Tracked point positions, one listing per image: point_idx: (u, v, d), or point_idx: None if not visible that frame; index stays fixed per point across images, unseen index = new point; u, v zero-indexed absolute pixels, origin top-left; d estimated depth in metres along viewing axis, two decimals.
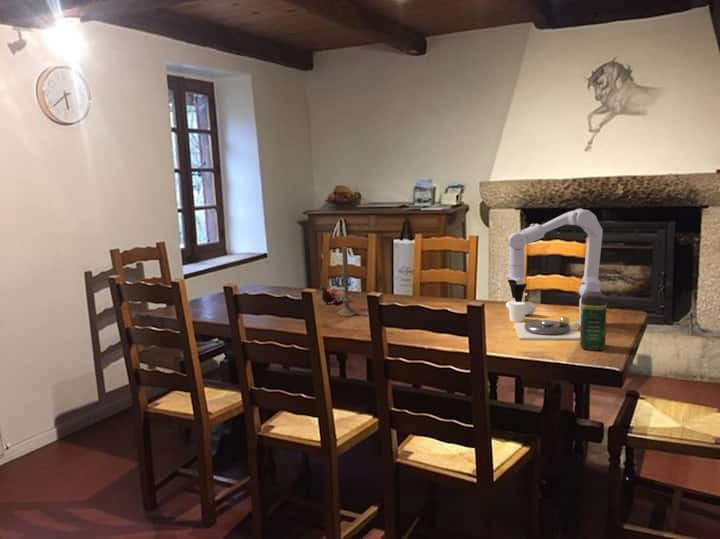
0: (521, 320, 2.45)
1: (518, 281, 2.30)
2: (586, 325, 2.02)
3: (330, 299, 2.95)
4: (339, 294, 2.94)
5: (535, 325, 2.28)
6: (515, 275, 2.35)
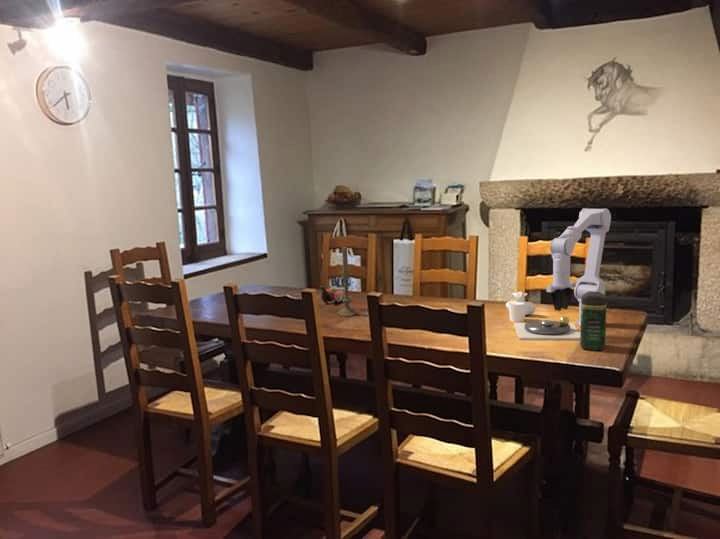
0: (521, 320, 2.45)
1: None
2: (586, 325, 2.02)
3: (330, 299, 2.96)
4: (338, 294, 2.95)
5: (535, 325, 2.28)
6: None
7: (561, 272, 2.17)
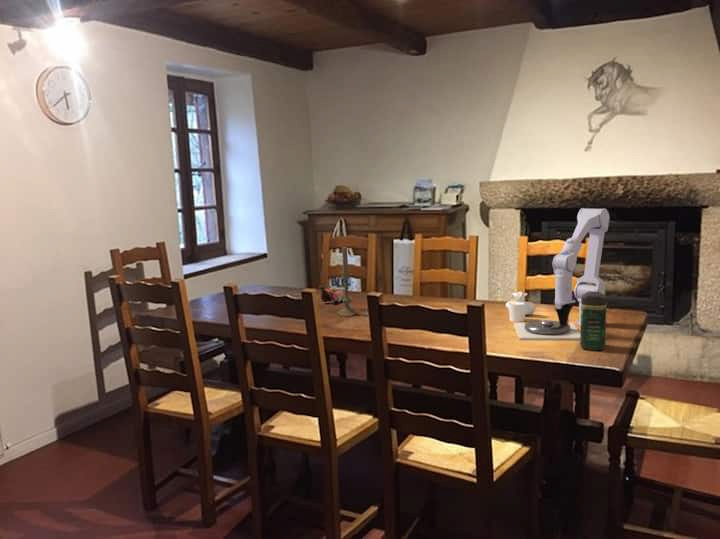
0: (521, 320, 2.45)
1: None
2: (586, 325, 2.02)
3: (329, 299, 2.96)
4: (338, 294, 2.95)
5: (535, 325, 2.28)
6: None
7: (563, 288, 2.19)
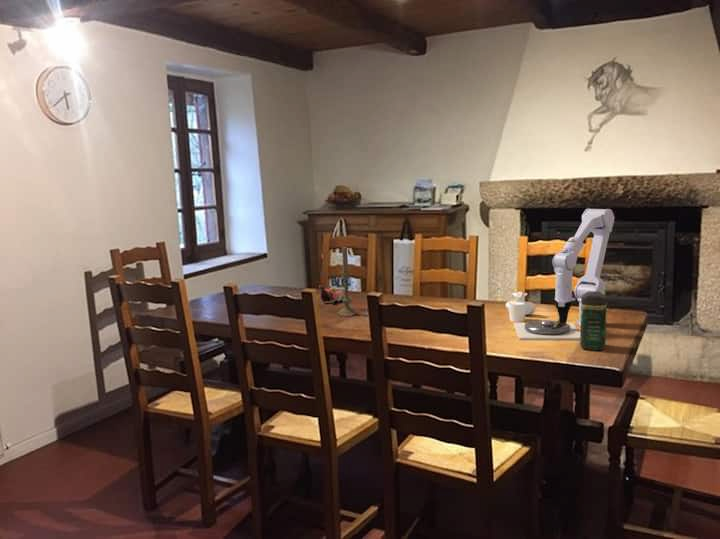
0: (521, 320, 2.45)
1: None
2: (586, 325, 2.02)
3: (329, 298, 2.96)
4: (338, 294, 2.95)
5: (536, 326, 2.27)
6: None
7: (562, 286, 2.22)
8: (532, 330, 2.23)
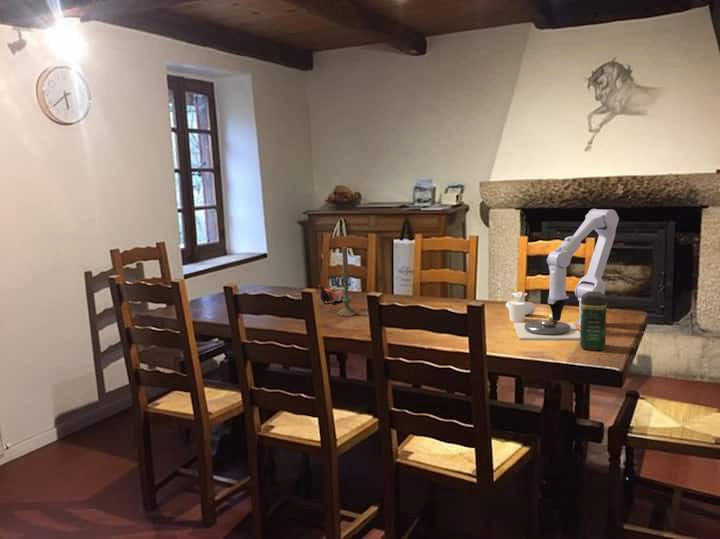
0: (521, 320, 2.45)
1: None
2: (586, 325, 2.02)
3: (329, 298, 2.97)
4: (337, 294, 2.96)
5: (542, 327, 2.24)
6: None
7: (555, 284, 2.26)
8: (547, 332, 2.20)
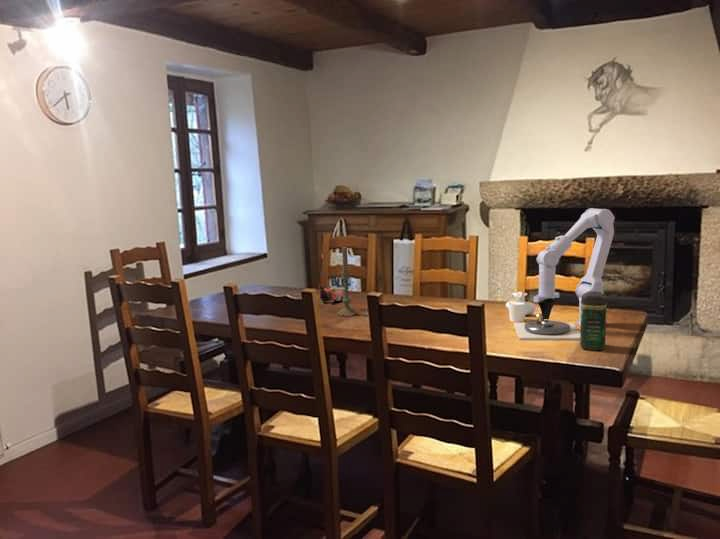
0: (521, 320, 2.45)
1: None
2: (586, 325, 2.02)
3: (328, 298, 2.97)
4: (337, 293, 2.96)
5: (552, 328, 2.23)
6: None
7: (542, 283, 2.28)
8: (563, 331, 2.21)
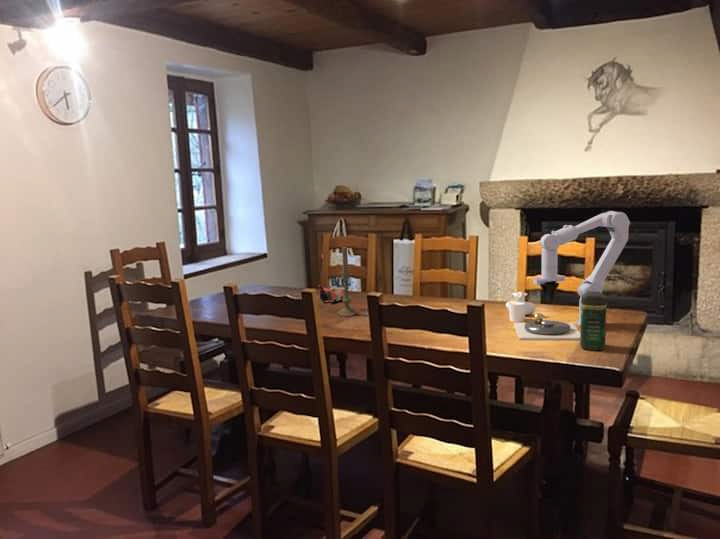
0: (521, 320, 2.45)
1: None
2: (586, 325, 2.02)
3: None
4: (337, 293, 2.96)
5: (553, 328, 2.23)
6: None
7: (543, 266, 2.33)
8: (565, 330, 2.21)
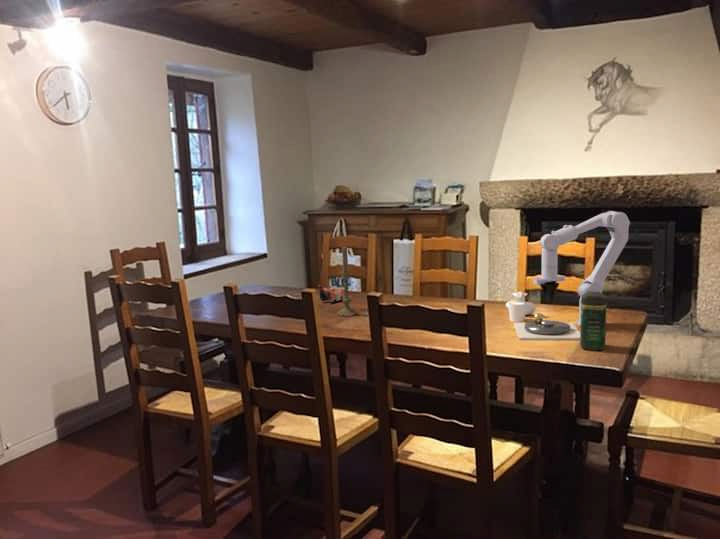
0: (521, 320, 2.45)
1: None
2: (586, 325, 2.02)
3: None
4: (336, 293, 2.97)
5: (553, 328, 2.23)
6: None
7: (543, 266, 2.33)
8: (565, 330, 2.21)
